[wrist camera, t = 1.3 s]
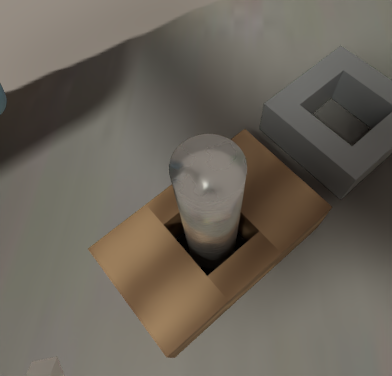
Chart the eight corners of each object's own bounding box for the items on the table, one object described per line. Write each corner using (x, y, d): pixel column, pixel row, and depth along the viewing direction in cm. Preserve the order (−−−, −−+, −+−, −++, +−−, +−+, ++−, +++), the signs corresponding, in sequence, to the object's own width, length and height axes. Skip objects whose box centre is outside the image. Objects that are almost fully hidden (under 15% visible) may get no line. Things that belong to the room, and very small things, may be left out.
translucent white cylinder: (179, 243, 40) (153, 163, 23) (213, 215, 41) (211, 120, 25) (209, 278, 38) (203, 218, 22) (244, 248, 39) (263, 169, 23)
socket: (259, 128, 46) (264, 103, 41) (329, 74, 49) (340, 45, 44) (340, 199, 41) (355, 180, 36) (412, 134, 44) (434, 109, 39)
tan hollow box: (105, 264, 39) (87, 248, 34) (241, 157, 44) (244, 128, 39) (174, 357, 35) (166, 357, 29) (316, 227, 40) (332, 207, 34)
